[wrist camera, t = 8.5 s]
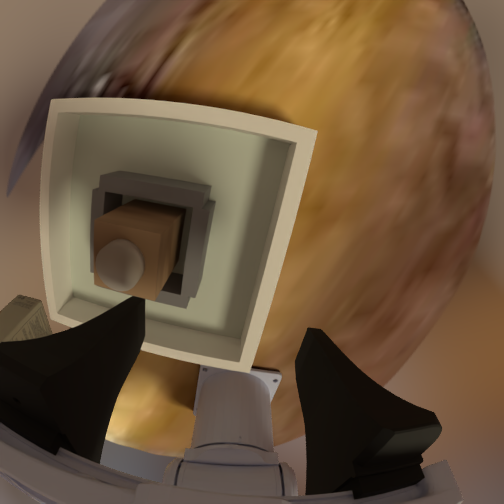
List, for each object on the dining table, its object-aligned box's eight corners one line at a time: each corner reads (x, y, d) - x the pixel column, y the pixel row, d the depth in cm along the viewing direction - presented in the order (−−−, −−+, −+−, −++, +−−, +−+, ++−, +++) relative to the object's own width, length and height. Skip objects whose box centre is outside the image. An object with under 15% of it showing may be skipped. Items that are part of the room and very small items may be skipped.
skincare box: (18, 293, 23) (-46, 352, 12) (42, 299, 23) (-25, 367, 12) (33, 337, 25) (-18, 400, 14) (57, 345, 26) (7, 416, 14)
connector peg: (178, 260, 21) (149, 310, 14) (130, 249, 20) (86, 292, 14) (186, 208, 19) (155, 240, 13) (134, 199, 19) (85, 225, 12)
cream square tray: (249, 342, 25) (249, 373, 21) (71, 297, 23) (50, 319, 19) (304, 134, 18) (317, 131, 15) (80, 103, 17) (51, 99, 13)
